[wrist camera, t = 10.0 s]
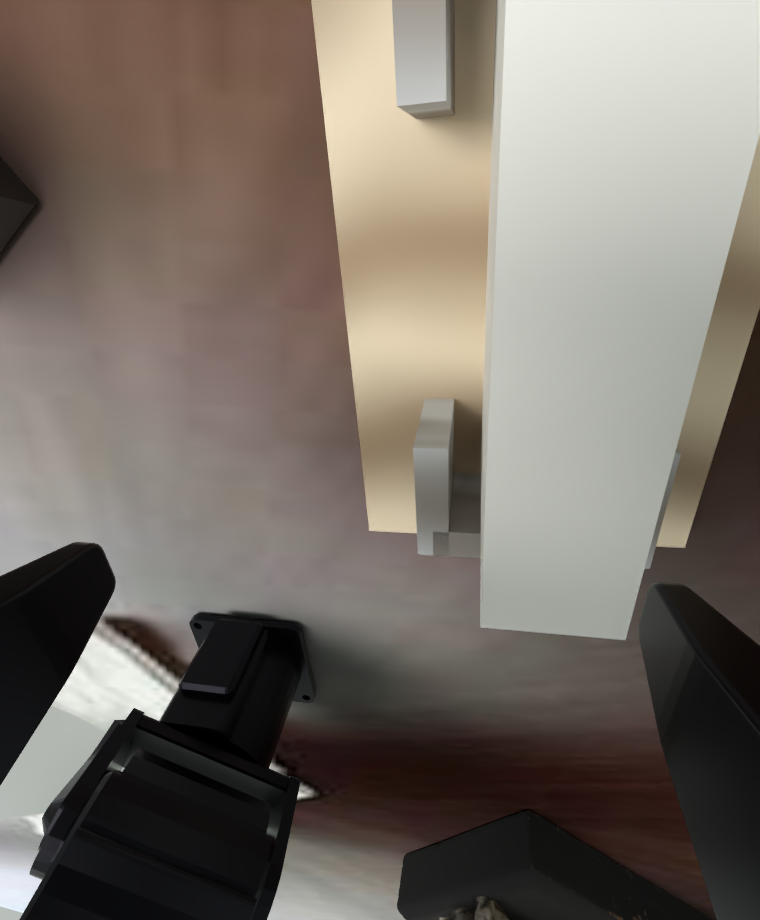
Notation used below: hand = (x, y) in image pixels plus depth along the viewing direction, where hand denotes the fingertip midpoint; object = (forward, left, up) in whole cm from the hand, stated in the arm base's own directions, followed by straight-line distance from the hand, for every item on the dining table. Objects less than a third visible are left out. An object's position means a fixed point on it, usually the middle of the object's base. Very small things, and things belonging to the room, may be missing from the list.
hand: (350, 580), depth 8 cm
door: (+3, -4, -10) cm, 11 cm away
